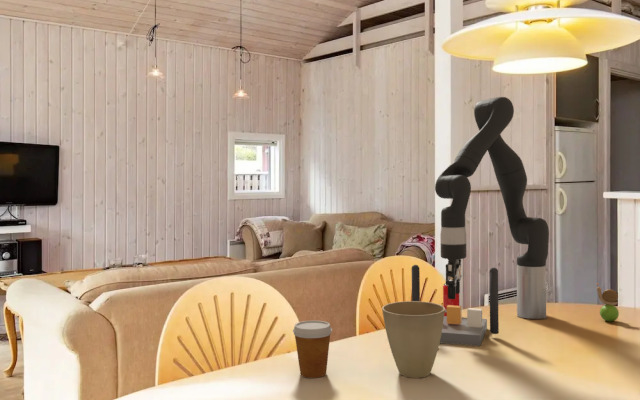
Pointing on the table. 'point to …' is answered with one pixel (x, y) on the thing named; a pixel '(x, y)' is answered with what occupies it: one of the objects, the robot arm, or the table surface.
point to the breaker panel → (465, 329)
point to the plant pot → (414, 335)
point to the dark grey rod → (415, 283)
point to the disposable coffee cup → (312, 347)
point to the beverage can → (449, 301)
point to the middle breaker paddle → (454, 314)
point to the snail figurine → (608, 304)
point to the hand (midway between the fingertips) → (453, 296)
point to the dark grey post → (494, 301)
